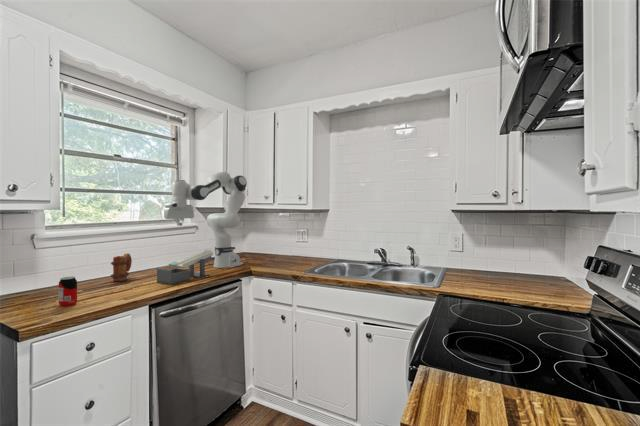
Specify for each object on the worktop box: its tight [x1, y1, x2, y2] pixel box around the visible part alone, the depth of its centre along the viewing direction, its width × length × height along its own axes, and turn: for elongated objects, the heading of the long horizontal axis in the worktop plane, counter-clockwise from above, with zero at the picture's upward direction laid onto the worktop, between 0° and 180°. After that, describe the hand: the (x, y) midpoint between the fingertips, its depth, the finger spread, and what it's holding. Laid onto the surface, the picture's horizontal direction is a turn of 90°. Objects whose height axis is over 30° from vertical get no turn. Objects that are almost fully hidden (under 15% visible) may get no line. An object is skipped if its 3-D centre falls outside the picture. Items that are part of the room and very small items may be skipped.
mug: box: [110, 253, 133, 282], centre depth 187 cm, size 15×8×15 cm, turn 179°
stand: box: [188, 259, 211, 279], centre depth 196 cm, size 8×14×11 cm, turn 60°
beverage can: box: [58, 276, 78, 307], centre depth 138 cm, size 6×6×12 cm
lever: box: [168, 249, 214, 269], centre depth 197 cm, size 22×16×6 cm
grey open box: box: [156, 267, 191, 286], centre depth 182 cm, size 13×13×8 cm
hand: (179, 225), depth 207 cm, fingers closed
